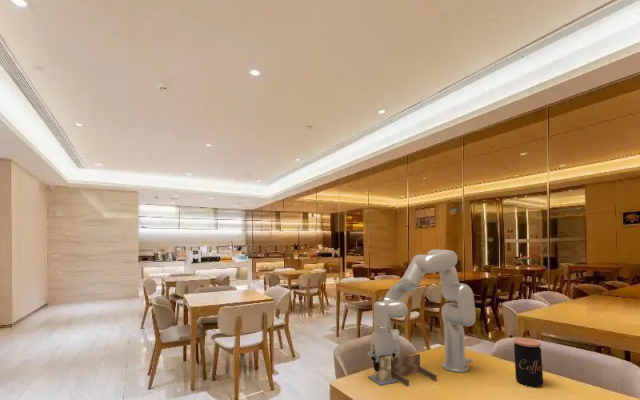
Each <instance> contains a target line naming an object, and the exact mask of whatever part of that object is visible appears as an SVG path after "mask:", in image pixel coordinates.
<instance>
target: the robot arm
mask: <svg viewBox="0 0 640 400" xmlns="http://www.w3.org/2000/svg"><path fill="white" fill-rule="evenodd" d="M457 263H458V255H457V254H456V252H455V251H453V250H450V249H431V250H429V251H428V252H427V254H416V255H414V256H413V258H412V260H411V261H410V263H409V264H408V267H407V268H406V271H405V272H404V274H403V275H402V277H401V279H399V280H398V281H397V282H396V283H395V284H394V285H392V286H391V287H390V289H389V290H388V291H387V292H386V295H385V296H384V298H383V300H381V301H380V300H379V301H376V302H374V304H373V320H374V321H373V322H374V323H373V325H374V326H373V327H374V331H372V332H371V333H372V335H371V341H370V349H369V351H368V352H367V356H368V357H369V358H370V359H371V360H372V361H373V370H374V371H375V372H376V371H377V372H379V363H378V359H379V356H384V355H389V356H391V369H392V360H393V359H394V357H395V354H396V353H397V351H398V350H397V349H396V348H395V347H394V342H393V336H392V332H391V329H394V328H393V325H391V323H392V322H391V318H395V319H402V318H405V317H406V316H407V315H408V313H409V308H408V306H407V304H406V303H405V302H403V301H399V300H400V299H401V298H402V297H403V296H404V295H405V294H407V293H409V292H411V291H415V290H417V289H418V287H419V286H420V284H421V282H422V281H423V278H424V277H425V275H426V273H430V274H434V273H439V277H440V284H441V292H442V297H443V298H444V299H445V300H447V301H450V302H446V303H444V304H443V305H442V307H441V318H442V322H443V333H444V334H443V335H444V338H443V339H444V360H445V361H444V362H442V364H441V367H442V368H443V369H444V370H447V371H450V372H455V373H466V372H468V371H469V370H470V366H469V365H468V363H469V364H471V363H473V359H472V358H470V357H469V358H467V357H466V347H465V345H466V343H465V328H464V327H471V326H473V325H474V324H475V322H476V317H477V316H476V315H477V313H476V312H477V311H476V305H475V296H474V292H473V289H472V288H471V287H470V285H468V284H466V283H461V282H460V281H459V275H458V271H457V268H456V265H457Z"/></svg>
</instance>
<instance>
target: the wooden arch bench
mask: <svg viewBox="0 0 640 400" xmlns="http://www.w3.org/2000/svg"><path fill="white" fill-rule="evenodd" d="M416 373H418V374H421V375H423V376H425V377H427V378H428V379H430V380H432V381H434V382H436V381H437V380H438V375H437V374H435V373H434V372H432V371H430V370H429V369H427V368H425V367H423V366H421V354H419V353H417V354H416V353H415V354H409V355H404V356H403V355H402V356H401V355H400V357H395V358H394V359H393V360H392V369H391V376H392V377H393V378H395V379H397V380H398V381H399V382H400V383H401V384H403V385H404V386H406V387H409V386H410V379H409V378H407V377H406V376H404V375H411V374H416Z"/></svg>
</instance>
